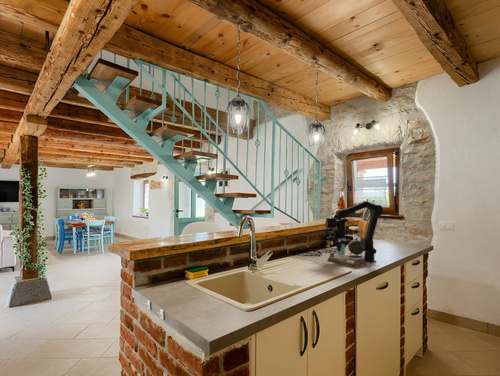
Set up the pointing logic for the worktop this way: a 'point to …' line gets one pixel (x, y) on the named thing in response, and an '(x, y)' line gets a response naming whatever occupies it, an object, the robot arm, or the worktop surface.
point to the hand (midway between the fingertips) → (340, 251)
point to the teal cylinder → (341, 253)
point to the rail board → (348, 261)
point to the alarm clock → (355, 246)
